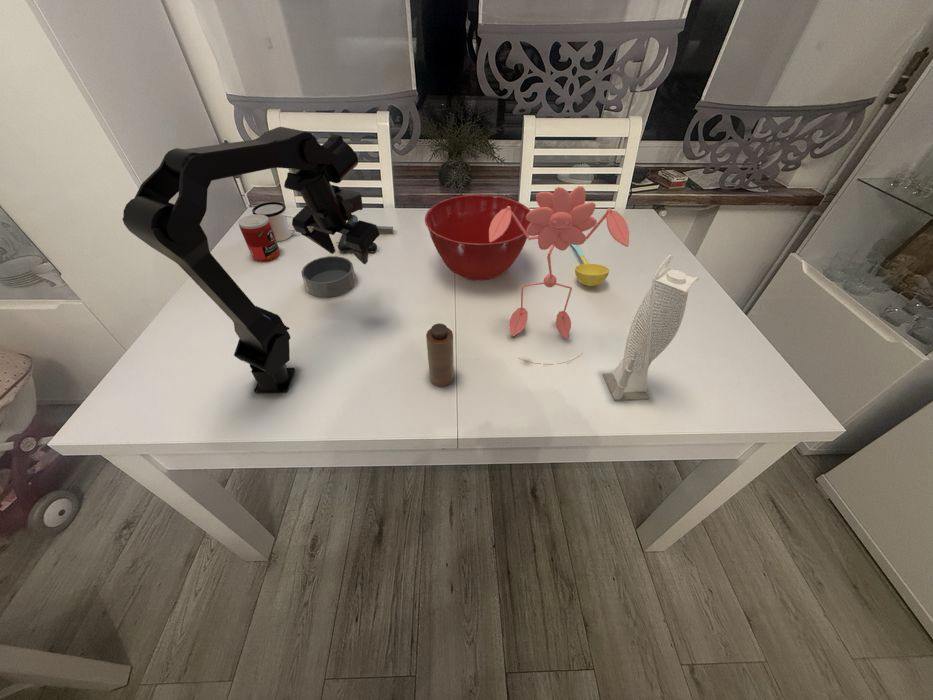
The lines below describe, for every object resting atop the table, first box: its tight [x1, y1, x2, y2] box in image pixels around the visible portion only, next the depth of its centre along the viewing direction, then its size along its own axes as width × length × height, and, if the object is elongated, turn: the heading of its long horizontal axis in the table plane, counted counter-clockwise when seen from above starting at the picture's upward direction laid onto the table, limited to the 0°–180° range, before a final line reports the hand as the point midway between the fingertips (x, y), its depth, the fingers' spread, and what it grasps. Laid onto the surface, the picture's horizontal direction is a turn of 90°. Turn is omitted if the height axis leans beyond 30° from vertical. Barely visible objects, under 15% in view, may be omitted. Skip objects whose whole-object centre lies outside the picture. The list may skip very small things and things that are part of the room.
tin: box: [301, 255, 357, 299], centre depth 103 cm, size 13×13×4 cm
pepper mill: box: [425, 323, 455, 388], centre depth 76 cm, size 5×5×14 cm
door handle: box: [336, 214, 394, 253], centre depth 122 cm, size 3×20×16 cm
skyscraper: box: [602, 253, 700, 402], centre depth 70 cm, size 8×8×28 cm
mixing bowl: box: [424, 194, 531, 281], centre depth 106 cm, size 28×28×15 cm
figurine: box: [489, 185, 630, 366], centre depth 77 cm, size 15×26×35 cm, turn 83°
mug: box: [251, 201, 296, 243], centre depth 120 cm, size 12×10×9 cm
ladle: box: [570, 244, 611, 287], centre depth 111 cm, size 9×26×6 cm, turn 1°
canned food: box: [237, 214, 281, 263], centre depth 111 cm, size 8×8×11 cm
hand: (349, 257), depth 87 cm, fingers open, 9 cm apart
